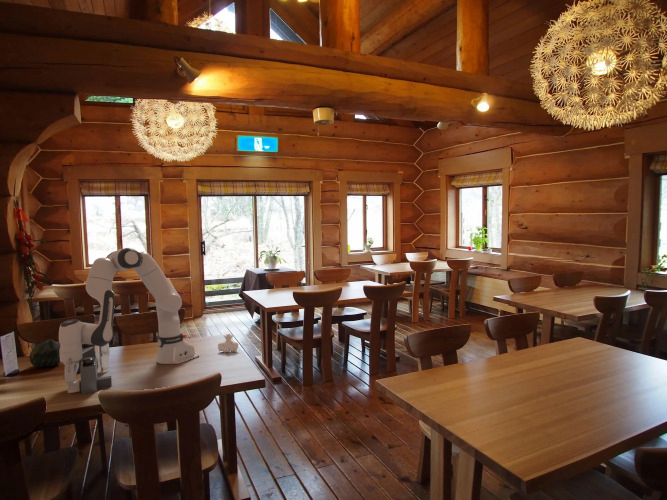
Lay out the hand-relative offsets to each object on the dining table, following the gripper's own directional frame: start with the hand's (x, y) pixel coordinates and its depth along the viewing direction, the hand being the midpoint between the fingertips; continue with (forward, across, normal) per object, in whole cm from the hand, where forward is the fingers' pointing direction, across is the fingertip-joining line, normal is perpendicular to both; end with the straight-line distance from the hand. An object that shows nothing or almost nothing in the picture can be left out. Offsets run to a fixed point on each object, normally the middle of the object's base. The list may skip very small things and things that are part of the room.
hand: (72, 385), depth 196 cm
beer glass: (+3, +23, -11) cm, 26 cm away
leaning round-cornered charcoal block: (+3, +33, -3) cm, 33 cm away
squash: (+3, +47, +16) cm, 50 cm away
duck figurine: (+2, +26, -77) cm, 81 cm away
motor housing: (+2, 0, -7) cm, 7 cm away
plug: (+2, 0, -7) cm, 8 cm away
